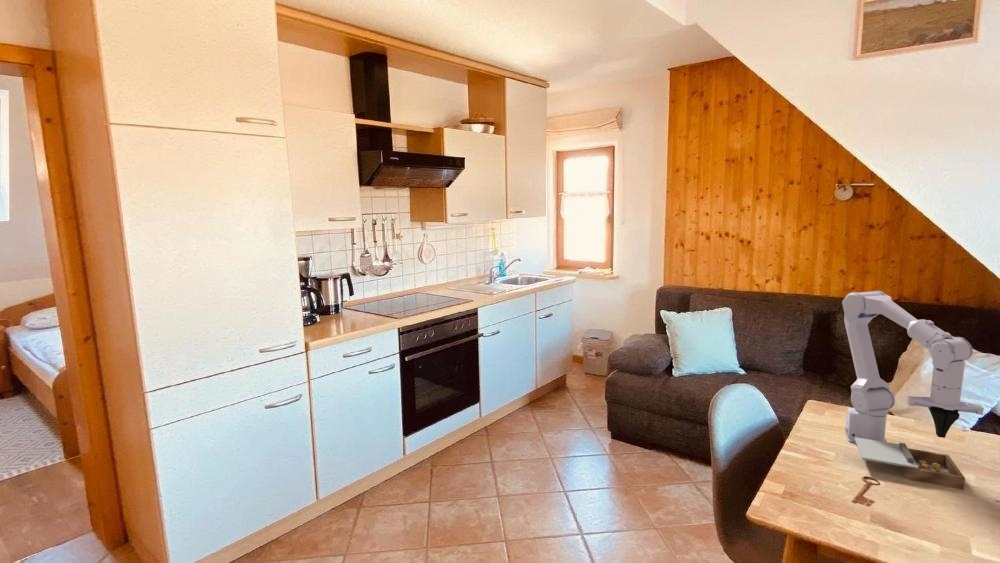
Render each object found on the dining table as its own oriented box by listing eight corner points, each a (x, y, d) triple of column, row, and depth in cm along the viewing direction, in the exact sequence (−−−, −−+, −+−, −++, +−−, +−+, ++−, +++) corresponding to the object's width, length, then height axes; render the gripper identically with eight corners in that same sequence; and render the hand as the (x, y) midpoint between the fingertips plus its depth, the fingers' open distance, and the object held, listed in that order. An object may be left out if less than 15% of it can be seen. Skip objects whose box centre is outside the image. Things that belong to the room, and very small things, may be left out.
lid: (862, 459, 133) (862, 453, 132) (854, 438, 144) (855, 433, 143) (918, 468, 127) (918, 462, 127) (905, 446, 138) (906, 441, 138)
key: (872, 512, 117) (890, 487, 127) (873, 508, 117) (891, 484, 126) (843, 499, 121) (863, 476, 131) (844, 496, 121) (864, 473, 131)
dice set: (911, 471, 132) (911, 464, 132) (916, 464, 135) (917, 457, 135) (936, 478, 128) (936, 471, 128) (940, 471, 131) (941, 464, 131)
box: (904, 478, 129) (905, 467, 129) (893, 456, 140) (894, 446, 140) (963, 489, 124) (964, 478, 123) (947, 465, 135) (948, 454, 134)
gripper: (914, 386, 127) (908, 437, 129) (991, 395, 120) (983, 448, 123) (907, 377, 133) (902, 425, 135) (979, 385, 127) (973, 436, 129)
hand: (940, 435), depth 129 cm, fingers closed
